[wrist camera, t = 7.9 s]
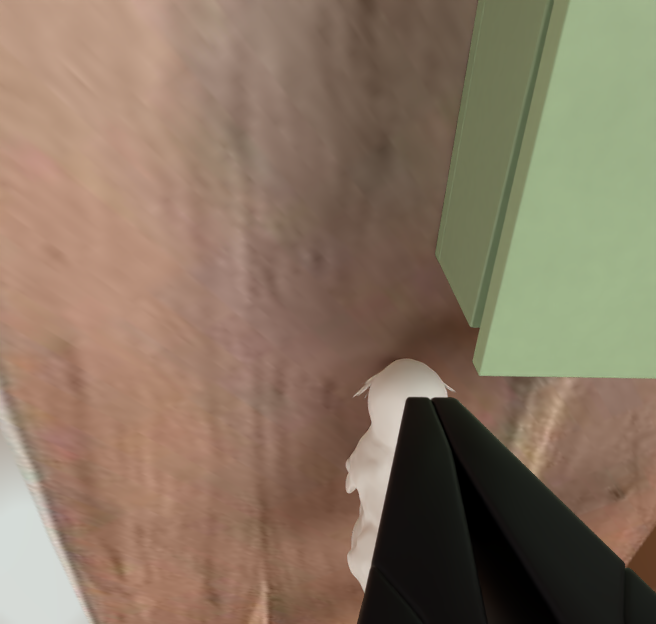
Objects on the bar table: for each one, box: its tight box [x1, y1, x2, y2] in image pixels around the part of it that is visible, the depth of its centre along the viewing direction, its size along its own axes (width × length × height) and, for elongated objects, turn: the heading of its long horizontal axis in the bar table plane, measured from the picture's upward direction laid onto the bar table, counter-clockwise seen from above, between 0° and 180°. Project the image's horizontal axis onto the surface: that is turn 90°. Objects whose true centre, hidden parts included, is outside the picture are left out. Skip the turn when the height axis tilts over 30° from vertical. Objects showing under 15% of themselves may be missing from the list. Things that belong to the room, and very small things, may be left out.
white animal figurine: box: [346, 358, 455, 593], centre depth 23 cm, size 6×8×12 cm
